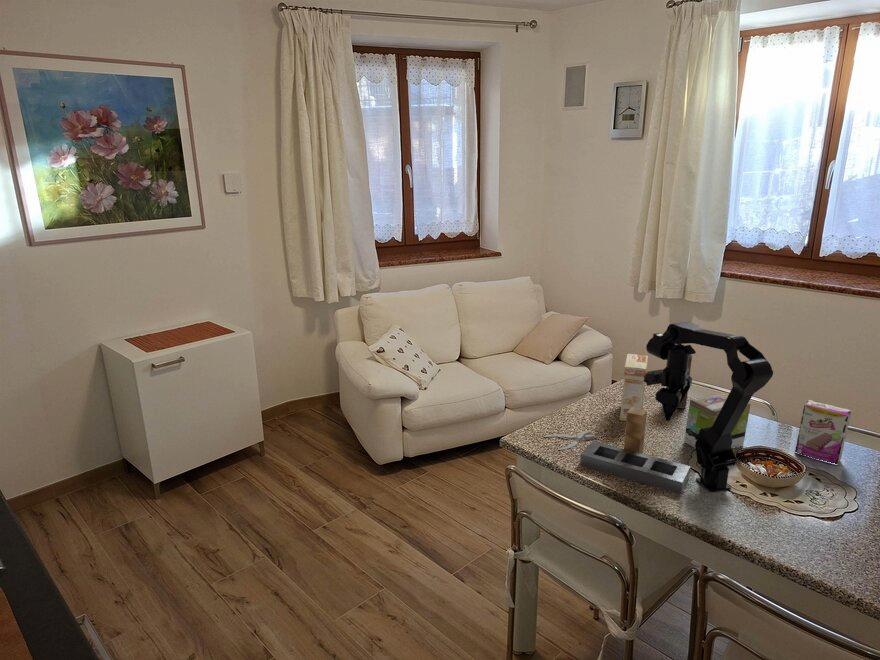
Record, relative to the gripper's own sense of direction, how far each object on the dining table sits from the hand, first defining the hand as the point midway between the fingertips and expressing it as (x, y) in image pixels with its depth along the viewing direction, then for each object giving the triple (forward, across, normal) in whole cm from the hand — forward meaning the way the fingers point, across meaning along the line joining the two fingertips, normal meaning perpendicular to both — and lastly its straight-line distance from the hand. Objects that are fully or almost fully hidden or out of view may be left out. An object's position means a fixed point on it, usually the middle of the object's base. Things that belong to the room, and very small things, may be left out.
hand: (671, 414), depth 173 cm
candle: (+13, -38, -6) cm, 41 cm away
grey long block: (+13, +15, -6) cm, 21 cm away
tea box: (+13, -15, +11) cm, 22 cm away
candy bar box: (+13, -22, +38) cm, 46 cm away
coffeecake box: (+13, -24, -18) cm, 32 cm away
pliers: (+14, +7, -28) cm, 31 cm away
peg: (+13, +5, -8) cm, 16 cm away
